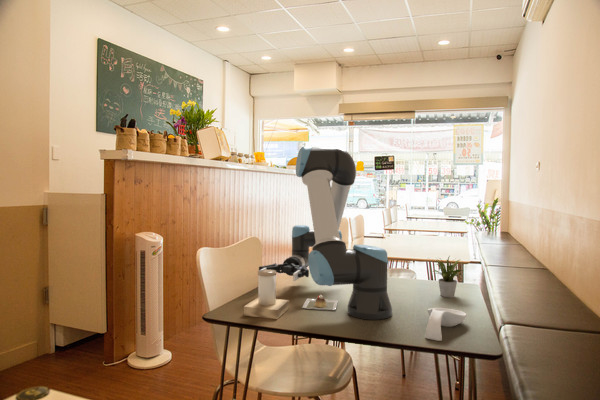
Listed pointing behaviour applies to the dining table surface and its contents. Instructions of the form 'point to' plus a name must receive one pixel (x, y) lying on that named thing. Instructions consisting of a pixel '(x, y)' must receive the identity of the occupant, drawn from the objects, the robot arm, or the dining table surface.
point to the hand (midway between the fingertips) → (276, 275)
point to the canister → (266, 287)
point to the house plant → (448, 278)
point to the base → (266, 309)
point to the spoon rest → (442, 321)
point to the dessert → (320, 303)
